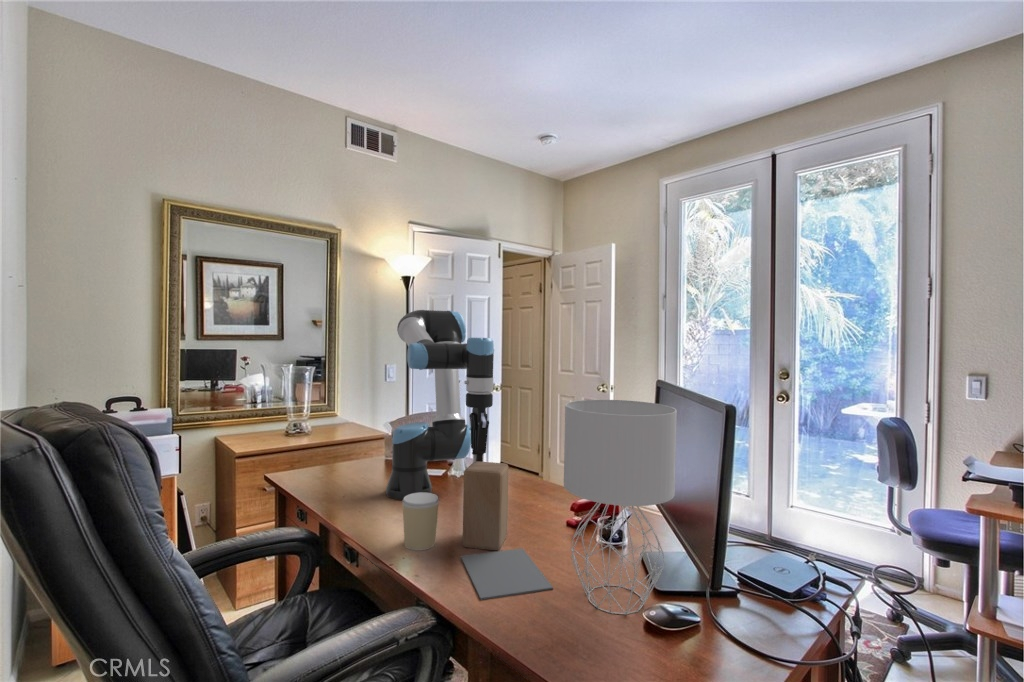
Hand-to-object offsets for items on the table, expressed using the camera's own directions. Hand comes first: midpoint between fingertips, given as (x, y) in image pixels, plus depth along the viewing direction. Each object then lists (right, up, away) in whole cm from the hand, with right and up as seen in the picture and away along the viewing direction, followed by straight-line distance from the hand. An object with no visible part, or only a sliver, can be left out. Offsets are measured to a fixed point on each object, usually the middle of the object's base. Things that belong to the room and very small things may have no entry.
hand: (477, 476), depth 137 cm
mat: (+8, -15, -25) cm, 30 cm away
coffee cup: (-14, -15, -11) cm, 23 cm away
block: (+3, -15, -9) cm, 18 cm away
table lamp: (+31, -16, -36) cm, 50 cm away
